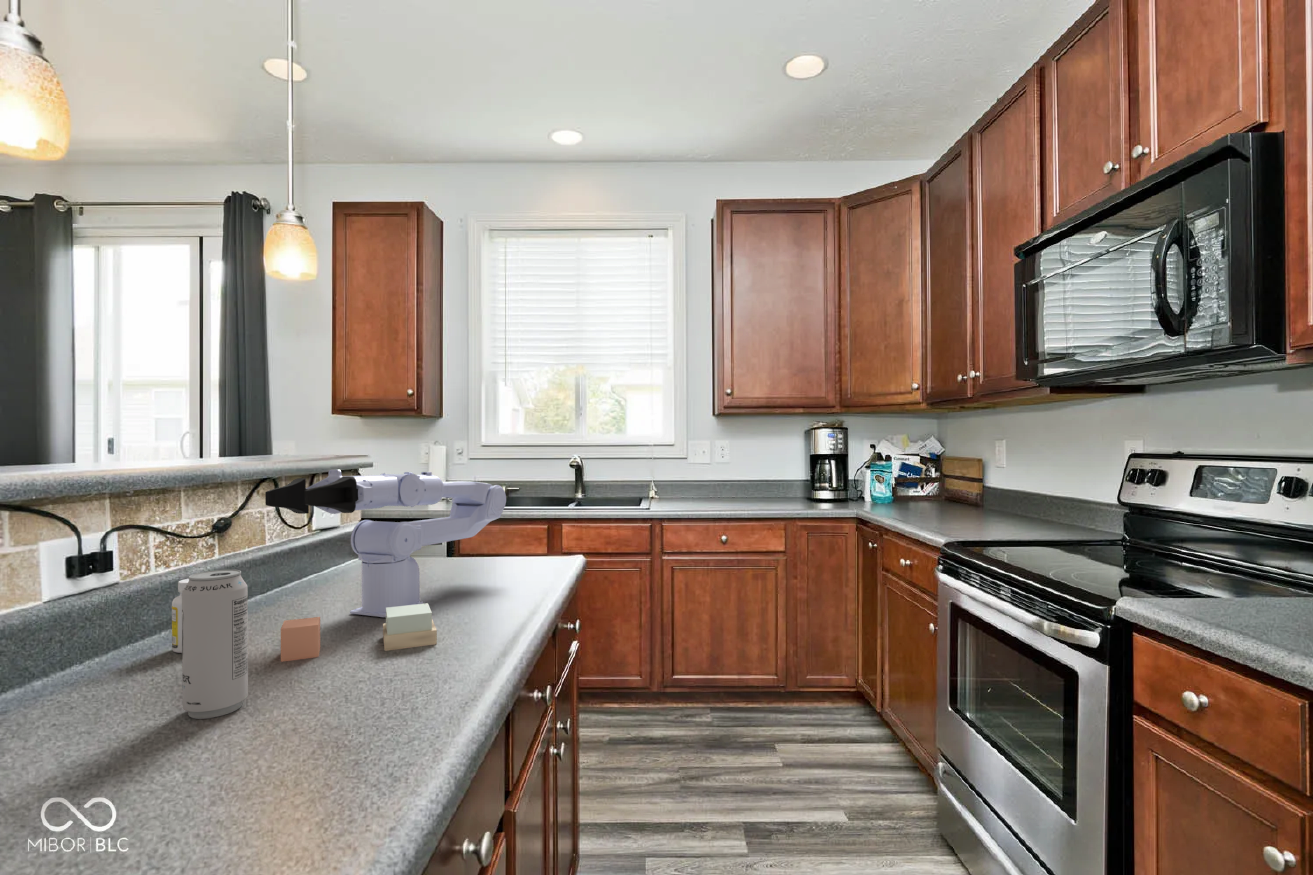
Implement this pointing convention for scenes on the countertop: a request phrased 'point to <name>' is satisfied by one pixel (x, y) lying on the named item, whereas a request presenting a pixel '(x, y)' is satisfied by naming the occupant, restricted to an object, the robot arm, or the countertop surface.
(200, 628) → the energy drink can
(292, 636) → the terracotta cube
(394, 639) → the tower base
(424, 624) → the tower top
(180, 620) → the supplement bottle
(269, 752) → the countertop surface
